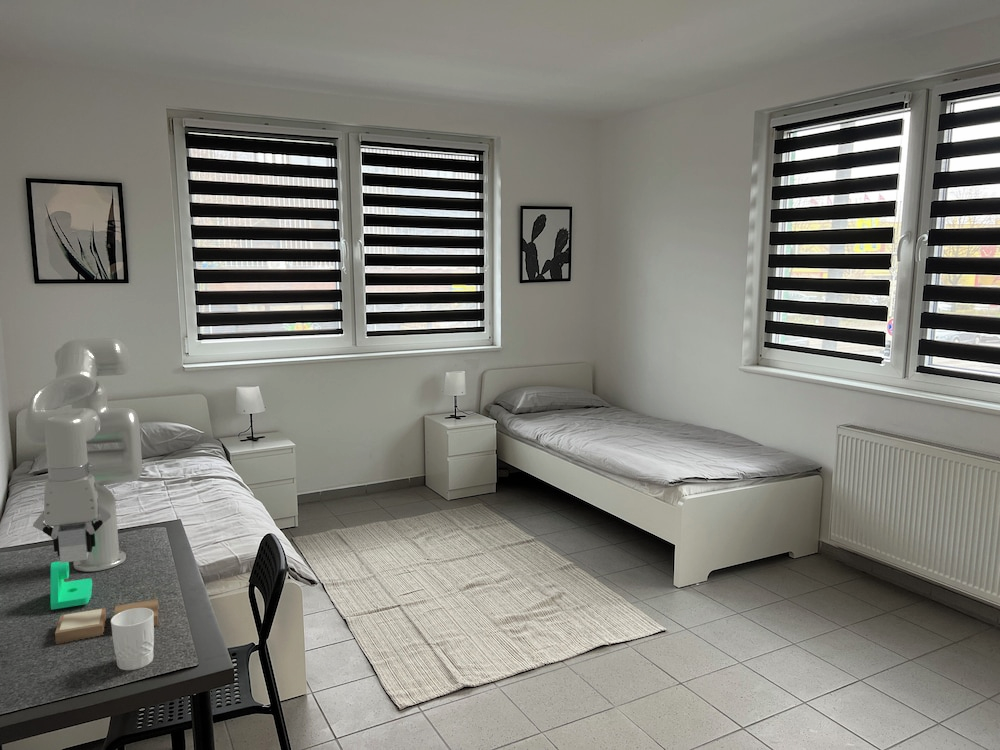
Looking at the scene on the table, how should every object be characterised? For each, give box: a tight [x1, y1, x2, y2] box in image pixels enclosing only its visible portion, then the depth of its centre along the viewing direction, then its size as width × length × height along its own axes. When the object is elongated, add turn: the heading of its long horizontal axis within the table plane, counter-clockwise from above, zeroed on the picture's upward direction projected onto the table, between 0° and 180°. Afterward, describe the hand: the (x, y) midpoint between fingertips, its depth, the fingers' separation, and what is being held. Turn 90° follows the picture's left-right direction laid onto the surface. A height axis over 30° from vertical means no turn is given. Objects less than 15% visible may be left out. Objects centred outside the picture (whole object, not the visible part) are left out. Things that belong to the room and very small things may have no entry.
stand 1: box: [54, 607, 107, 645], centre depth 162 cm, size 9×9×3 cm
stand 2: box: [113, 598, 160, 627], centre depth 167 cm, size 9×9×2 cm
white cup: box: [110, 608, 155, 671], centre depth 149 cm, size 8×8×10 cm
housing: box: [58, 523, 89, 563], centre depth 159 cm, size 7×5×7 cm
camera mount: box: [50, 561, 93, 610], centre depth 176 cm, size 12×8×10 cm, turn 25°
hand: (75, 551), depth 159 cm, fingers closed on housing, 5 cm apart
